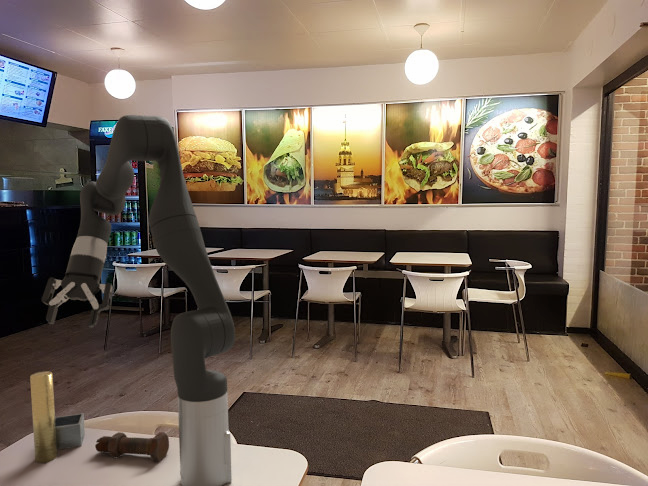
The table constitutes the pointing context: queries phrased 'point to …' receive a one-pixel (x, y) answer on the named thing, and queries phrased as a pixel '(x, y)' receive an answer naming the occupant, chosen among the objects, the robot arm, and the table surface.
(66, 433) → the open square box
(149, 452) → the bolt
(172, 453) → the table surface
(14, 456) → the table surface
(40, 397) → the tall amber cylinder
